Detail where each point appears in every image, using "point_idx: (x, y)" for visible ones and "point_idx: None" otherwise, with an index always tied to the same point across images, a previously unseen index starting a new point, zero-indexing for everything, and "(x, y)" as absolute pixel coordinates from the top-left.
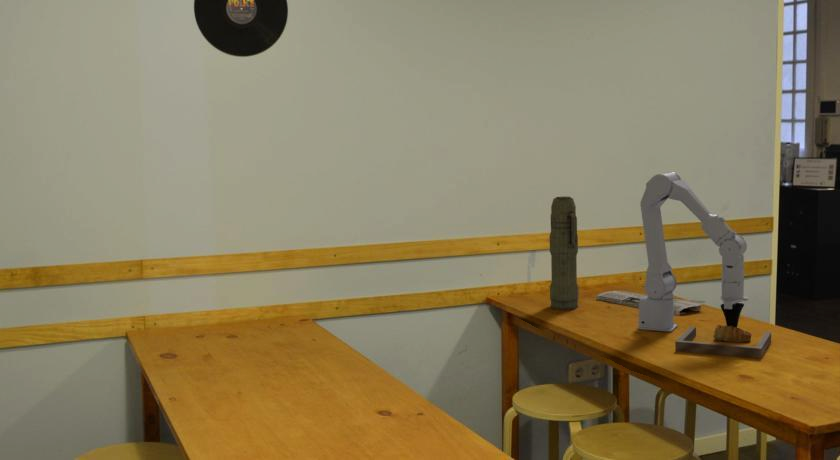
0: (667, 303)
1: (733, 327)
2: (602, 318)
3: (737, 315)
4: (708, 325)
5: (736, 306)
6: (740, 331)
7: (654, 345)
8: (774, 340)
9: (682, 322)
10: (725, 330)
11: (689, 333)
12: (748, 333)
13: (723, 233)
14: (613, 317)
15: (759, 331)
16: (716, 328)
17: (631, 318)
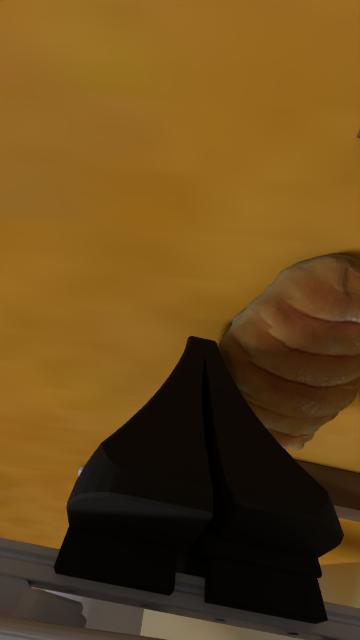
0: (129, 620)
1: (298, 385)
2: (62, 541)
3: (263, 432)
4: (18, 393)
5: (254, 543)
6: (339, 340)
7: (341, 521)
8: (337, 27)
9: (16, 448)
10: (332, 415)
11: (337, 505)
12: (348, 284)
13: None
14: (43, 531)
15: (30, 162)
16: (300, 448)
17: (35, 515)
